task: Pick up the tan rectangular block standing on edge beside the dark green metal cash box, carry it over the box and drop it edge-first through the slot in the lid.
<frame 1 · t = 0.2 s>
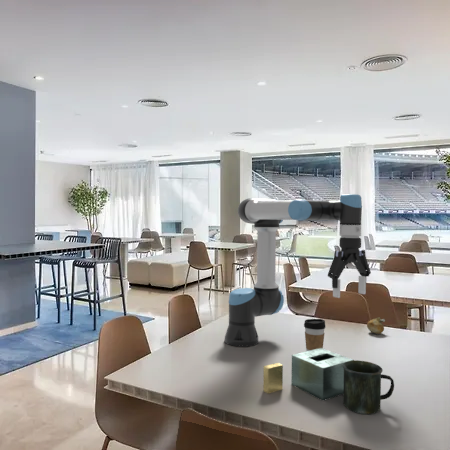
hand: (349, 295, 146), 28 cm above the table, fingers open, 13 cm apart
tan rectangular block: (272, 390, 129), on the table
coffee cup: (314, 357, 161), on the table
onion: (375, 333, 196), on the table
coin box: (321, 387, 132), on the table
mug: (367, 408, 118), on the table
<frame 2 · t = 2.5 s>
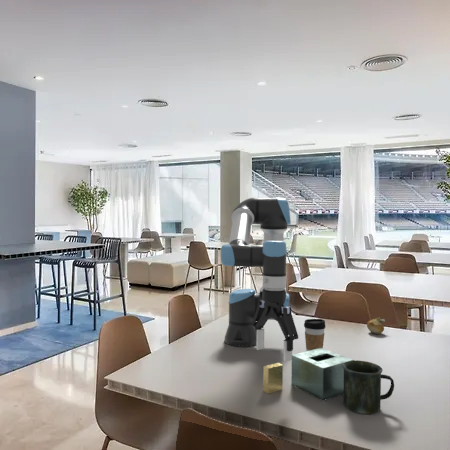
hand: (273, 354, 129), 12 cm above the table, fingers open, 13 cm apart
nothing on the table moved.
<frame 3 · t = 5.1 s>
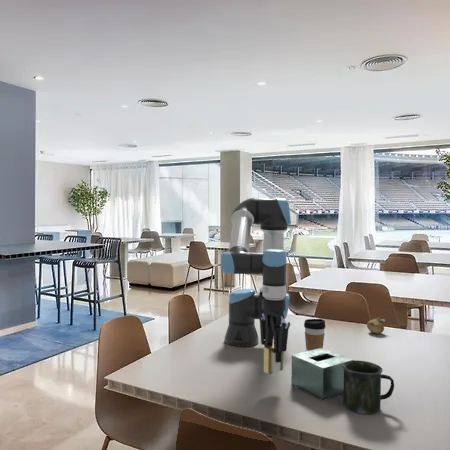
hand: (273, 369, 130), 6 cm above the table, fingers closed on tan rectangular block, 2 cm apart
tan rectangular block: (273, 370, 130), point 6 cm above the table, touching gripper
everything else where it was.
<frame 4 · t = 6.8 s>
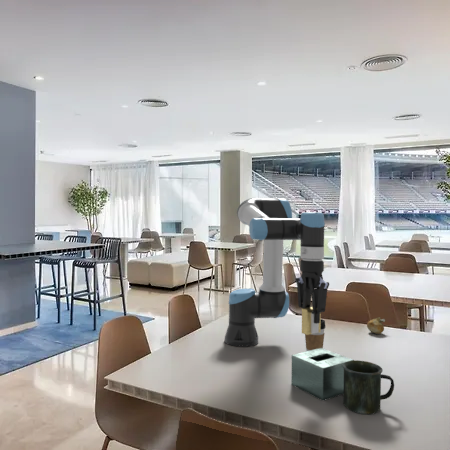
hand: (311, 331, 131), 19 cm above the table, fingers closed on tan rectangular block, 2 cm apart
tan rectangular block: (311, 332, 131), point 18 cm above the table, touching gripper
everything else where it was.
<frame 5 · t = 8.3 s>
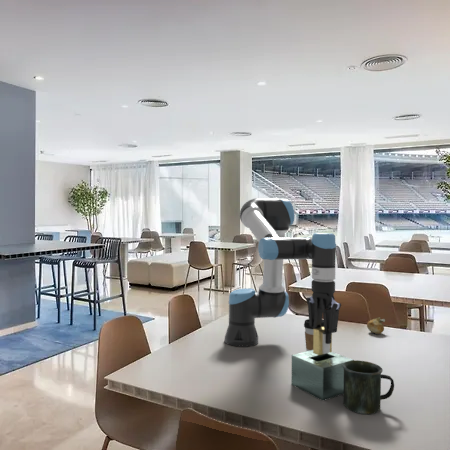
hand: (322, 351, 132), 12 cm above the table, fingers closed on tan rectangular block, 2 cm apart
tan rectangular block: (322, 352, 132), point 12 cm above the table, touching gripper
everything else where it was.
when the fingers open (11 cm above the table, at t = 9.0 s): tan rectangular block drops 10 cm, resting on coin box.
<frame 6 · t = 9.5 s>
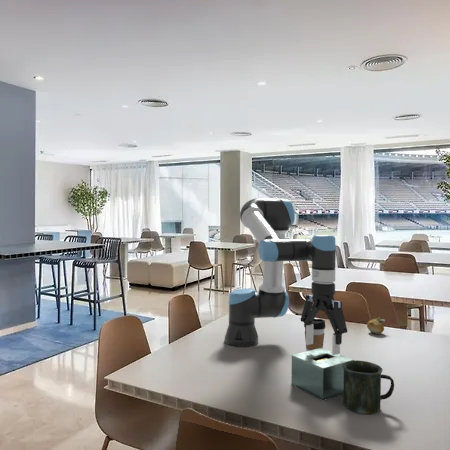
hand: (322, 348, 132), 13 cm above the table, fingers open, 11 cm apart
tan rectangular block: (321, 385, 132), point 1 cm above the table, touching coin box
everything else where it was.
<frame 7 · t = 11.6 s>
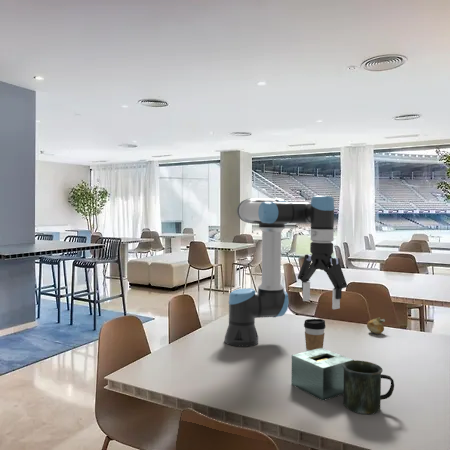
hand: (320, 304, 136), 26 cm above the table, fingers open, 13 cm apart
nothing on the table moved.
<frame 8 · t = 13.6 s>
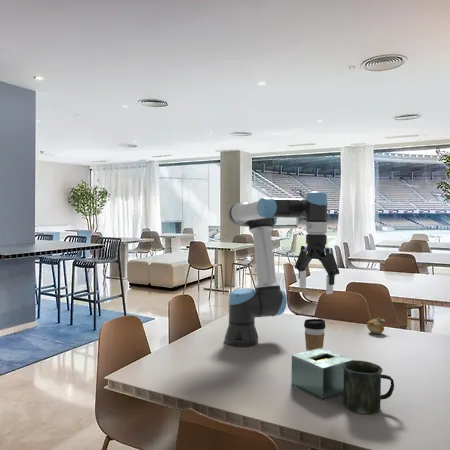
hand: (315, 290, 149), 29 cm above the table, fingers open, 13 cm apart
nothing on the table moved.
at the end: tan rectangular block inside the target area on the coin box (0.0 cm from its centre), point 0.8 cm above the coin box's base; the gripper is holding nothing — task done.
